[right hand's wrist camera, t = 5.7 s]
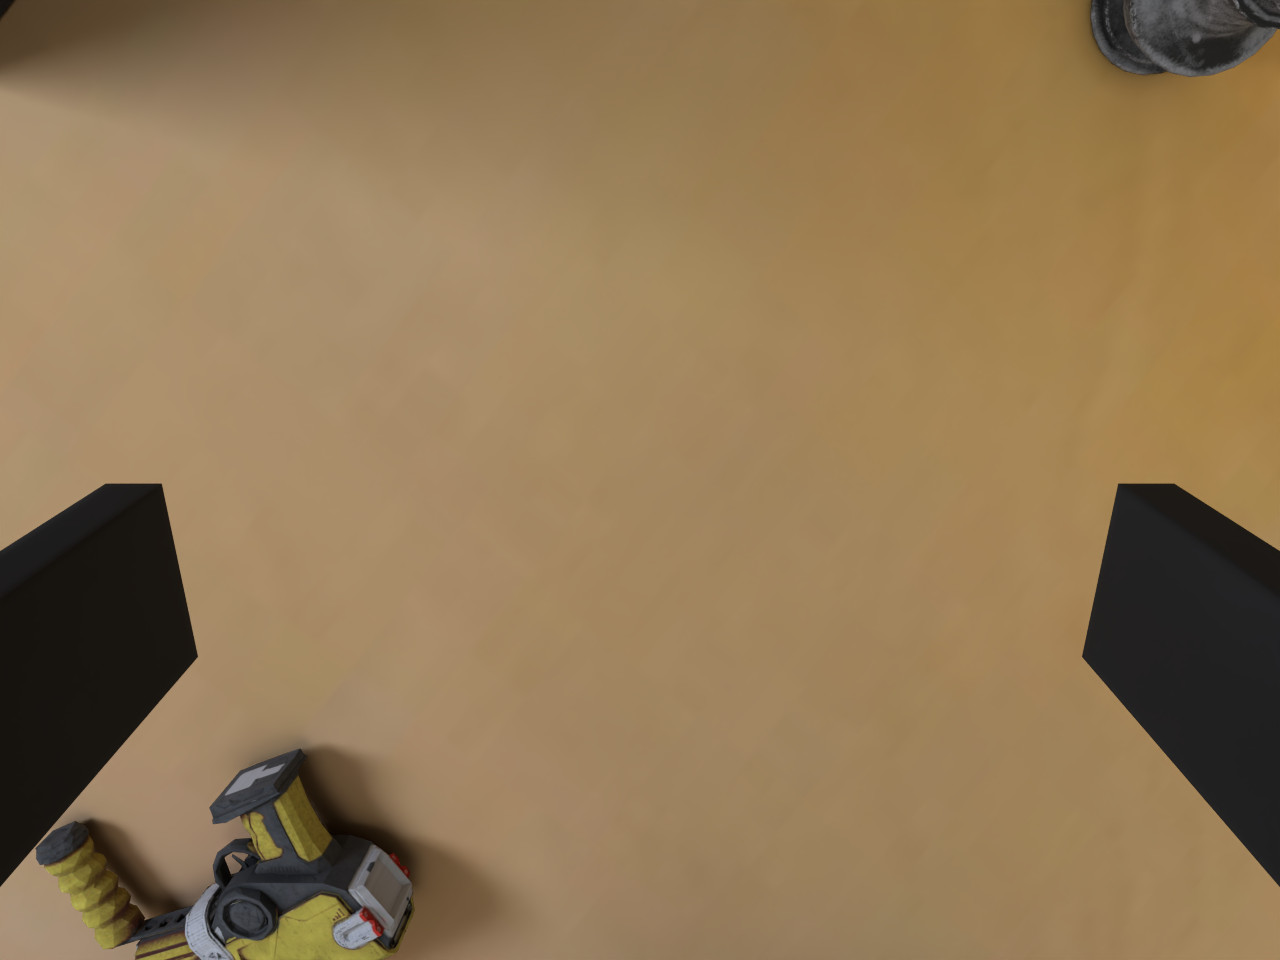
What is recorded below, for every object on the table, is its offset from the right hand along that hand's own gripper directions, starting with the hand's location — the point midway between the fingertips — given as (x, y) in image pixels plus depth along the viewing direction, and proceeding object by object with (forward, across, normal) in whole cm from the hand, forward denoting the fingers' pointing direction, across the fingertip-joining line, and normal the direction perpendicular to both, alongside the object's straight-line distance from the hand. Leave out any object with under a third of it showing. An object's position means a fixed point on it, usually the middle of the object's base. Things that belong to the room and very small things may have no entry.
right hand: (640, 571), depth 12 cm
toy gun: (+28, +26, +34) cm, 51 cm away
